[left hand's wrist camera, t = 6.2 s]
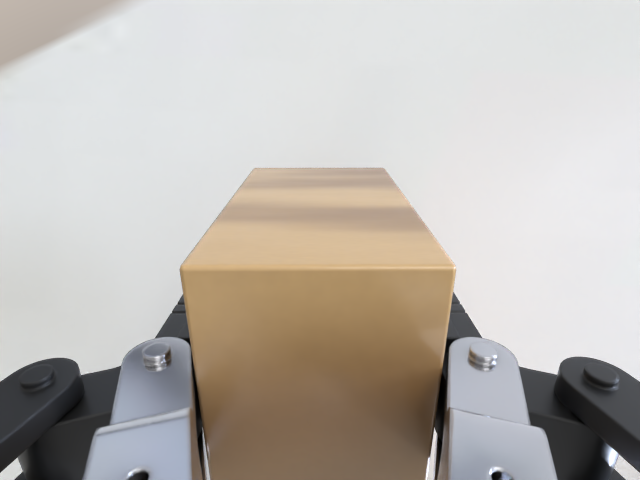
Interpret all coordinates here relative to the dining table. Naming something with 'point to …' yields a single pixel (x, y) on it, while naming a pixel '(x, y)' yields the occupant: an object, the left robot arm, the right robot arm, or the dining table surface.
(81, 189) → the dining table surface
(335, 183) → the bar
